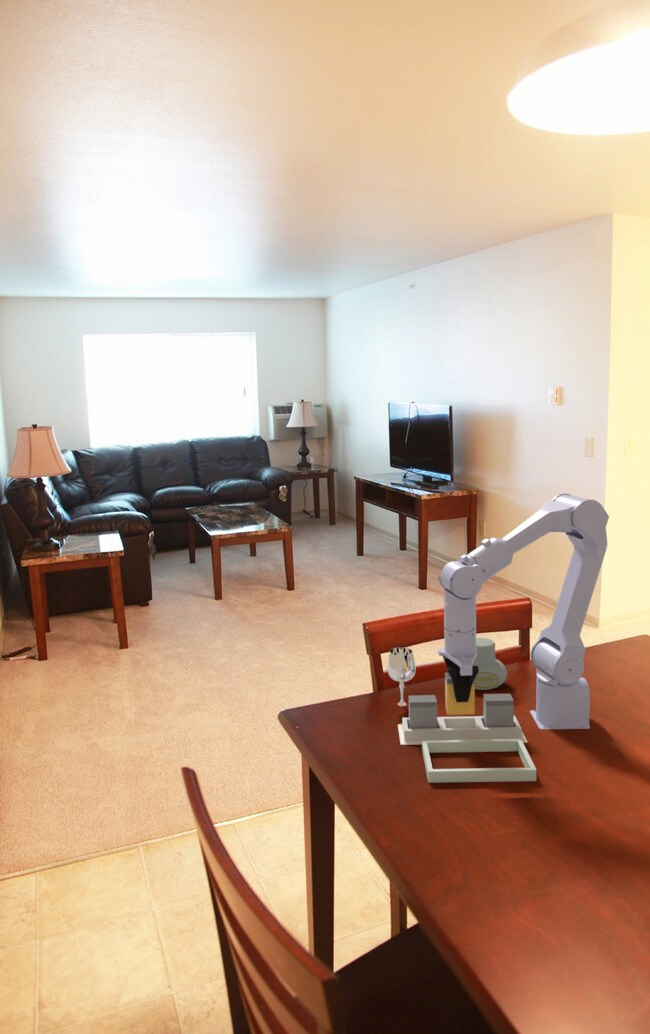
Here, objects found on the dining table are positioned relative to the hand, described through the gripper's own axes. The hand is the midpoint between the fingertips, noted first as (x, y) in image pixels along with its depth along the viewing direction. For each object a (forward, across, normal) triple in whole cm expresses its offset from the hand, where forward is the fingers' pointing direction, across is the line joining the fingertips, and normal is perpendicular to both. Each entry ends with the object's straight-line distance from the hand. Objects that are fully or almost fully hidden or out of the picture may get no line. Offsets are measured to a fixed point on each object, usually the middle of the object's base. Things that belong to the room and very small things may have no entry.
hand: (460, 697), depth 132 cm
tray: (+8, +12, +1) cm, 14 cm away
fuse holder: (+8, 0, 0) cm, 8 cm away
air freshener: (+8, -23, +8) cm, 26 cm away
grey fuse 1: (+7, 0, -7) cm, 10 cm away
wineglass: (+8, -13, -10) cm, 18 cm away
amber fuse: (+3, 0, 0) cm, 3 cm away
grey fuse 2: (+7, 0, +7) cm, 10 cm away
